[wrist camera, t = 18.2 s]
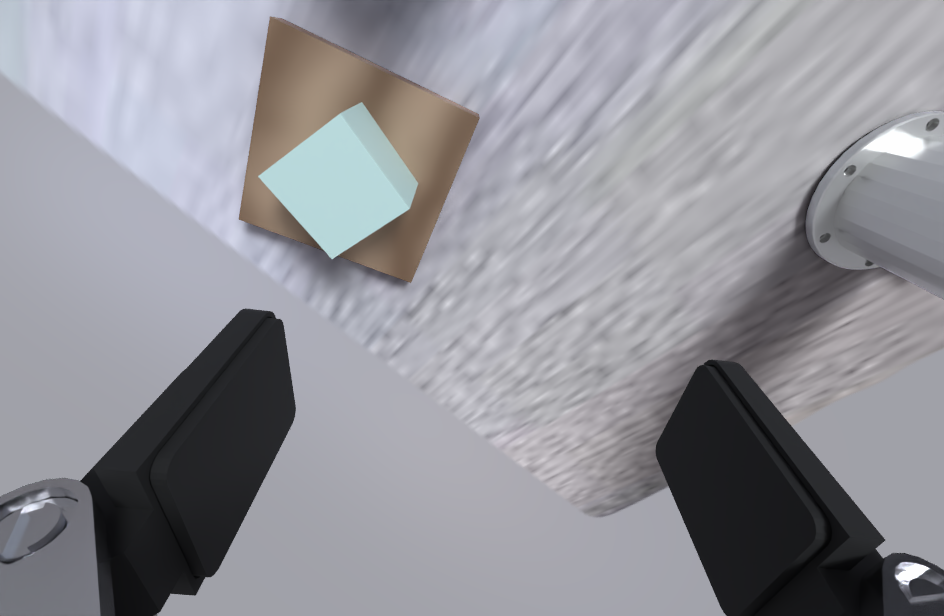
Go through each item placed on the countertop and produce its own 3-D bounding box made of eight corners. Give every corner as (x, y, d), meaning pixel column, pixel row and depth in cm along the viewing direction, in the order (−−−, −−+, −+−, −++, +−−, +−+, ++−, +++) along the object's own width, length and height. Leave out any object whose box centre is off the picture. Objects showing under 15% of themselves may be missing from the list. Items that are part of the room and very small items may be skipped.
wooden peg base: (478, 114, 30) (482, 128, 25) (413, 272, 37) (404, 311, 31) (282, 18, 27) (235, 10, 21) (250, 210, 34) (208, 242, 28)
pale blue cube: (361, 101, 28) (340, 113, 23) (418, 183, 31) (409, 208, 26) (292, 155, 29) (257, 176, 24) (351, 227, 32) (332, 259, 27)
